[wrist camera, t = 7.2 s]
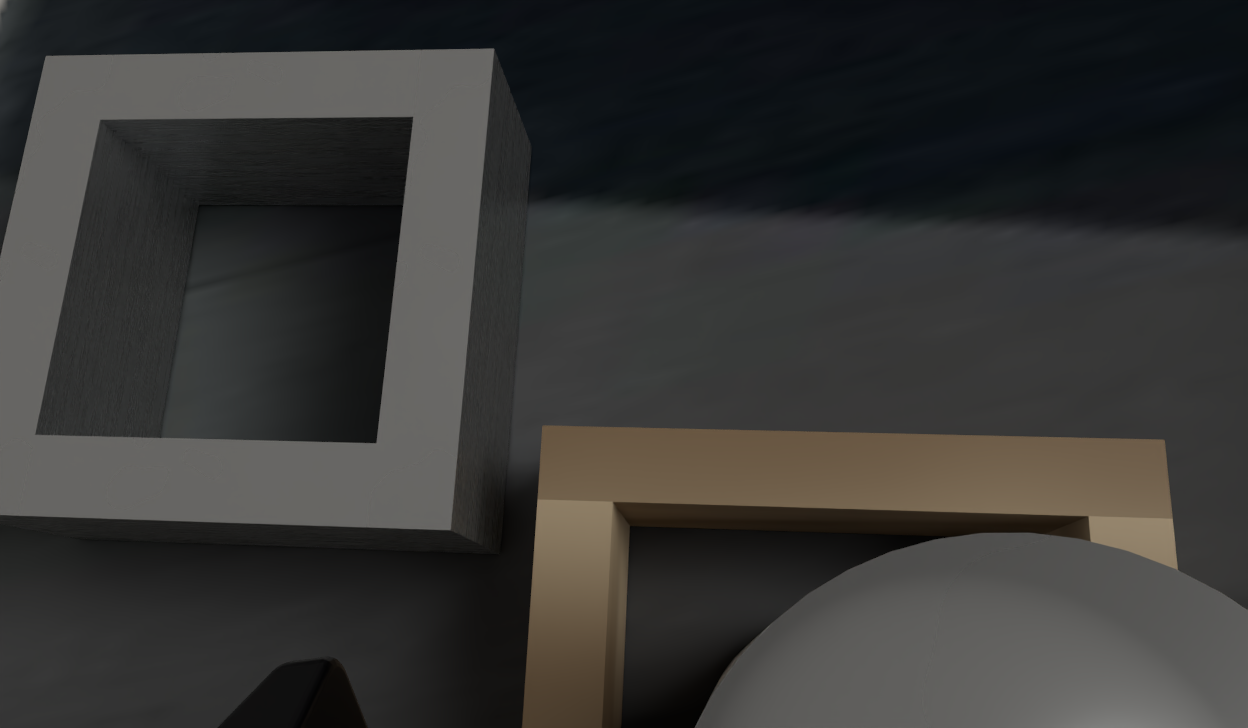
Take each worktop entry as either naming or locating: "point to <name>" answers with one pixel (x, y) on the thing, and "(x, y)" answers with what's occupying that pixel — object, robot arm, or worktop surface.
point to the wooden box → (794, 517)
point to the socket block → (156, 276)
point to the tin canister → (996, 644)
